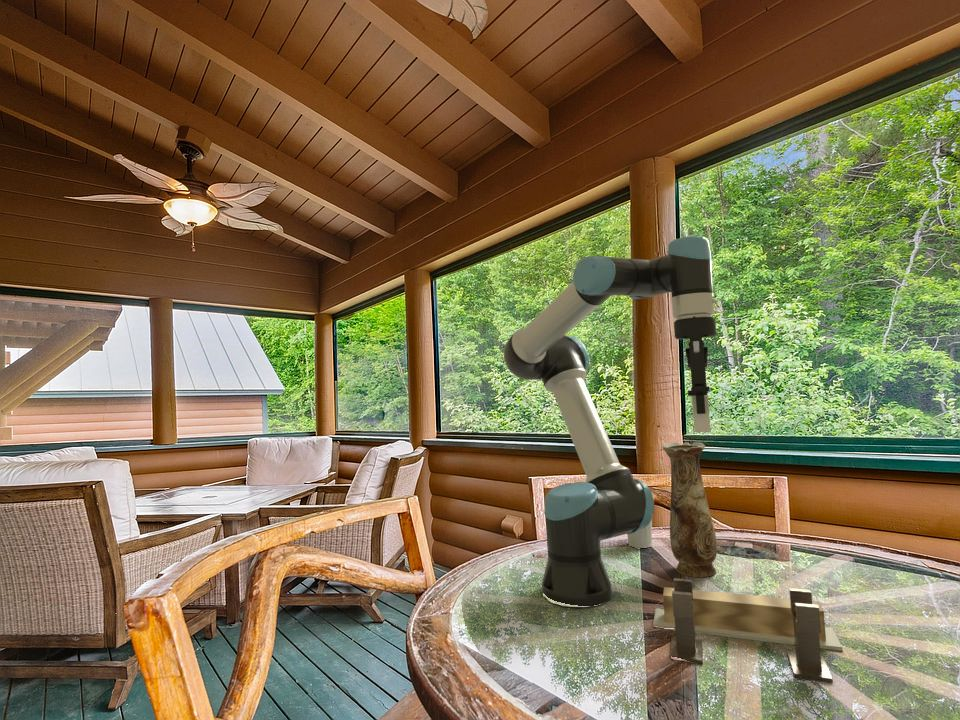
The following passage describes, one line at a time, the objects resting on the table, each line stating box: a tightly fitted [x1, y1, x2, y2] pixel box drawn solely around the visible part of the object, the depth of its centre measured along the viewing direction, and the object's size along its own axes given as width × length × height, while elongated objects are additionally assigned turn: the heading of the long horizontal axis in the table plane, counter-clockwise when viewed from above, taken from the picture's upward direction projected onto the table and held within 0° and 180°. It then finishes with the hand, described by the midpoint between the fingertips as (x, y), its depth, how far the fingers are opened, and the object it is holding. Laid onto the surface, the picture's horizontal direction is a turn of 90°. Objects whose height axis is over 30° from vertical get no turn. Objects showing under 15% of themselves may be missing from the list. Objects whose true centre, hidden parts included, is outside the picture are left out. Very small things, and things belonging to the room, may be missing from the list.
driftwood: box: [717, 543, 779, 561], centre depth 135 cm, size 21×7×2 cm, turn 49°
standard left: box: [669, 577, 704, 665], centre depth 90 cm, size 5×7×11 cm
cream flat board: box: [652, 608, 843, 652], centre depth 96 cm, size 30×7×1 cm, turn 67°
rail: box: [662, 586, 826, 641], centre depth 96 cm, size 26×4×5 cm, turn 67°
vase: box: [661, 441, 718, 578], centre depth 125 cm, size 10×11×30 cm
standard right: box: [786, 587, 834, 684], centre depth 83 cm, size 5×7×11 cm
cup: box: [626, 519, 653, 549], centre depth 145 cm, size 8×8×12 cm
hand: (702, 427), depth 100 cm, fingers open, 13 cm apart
